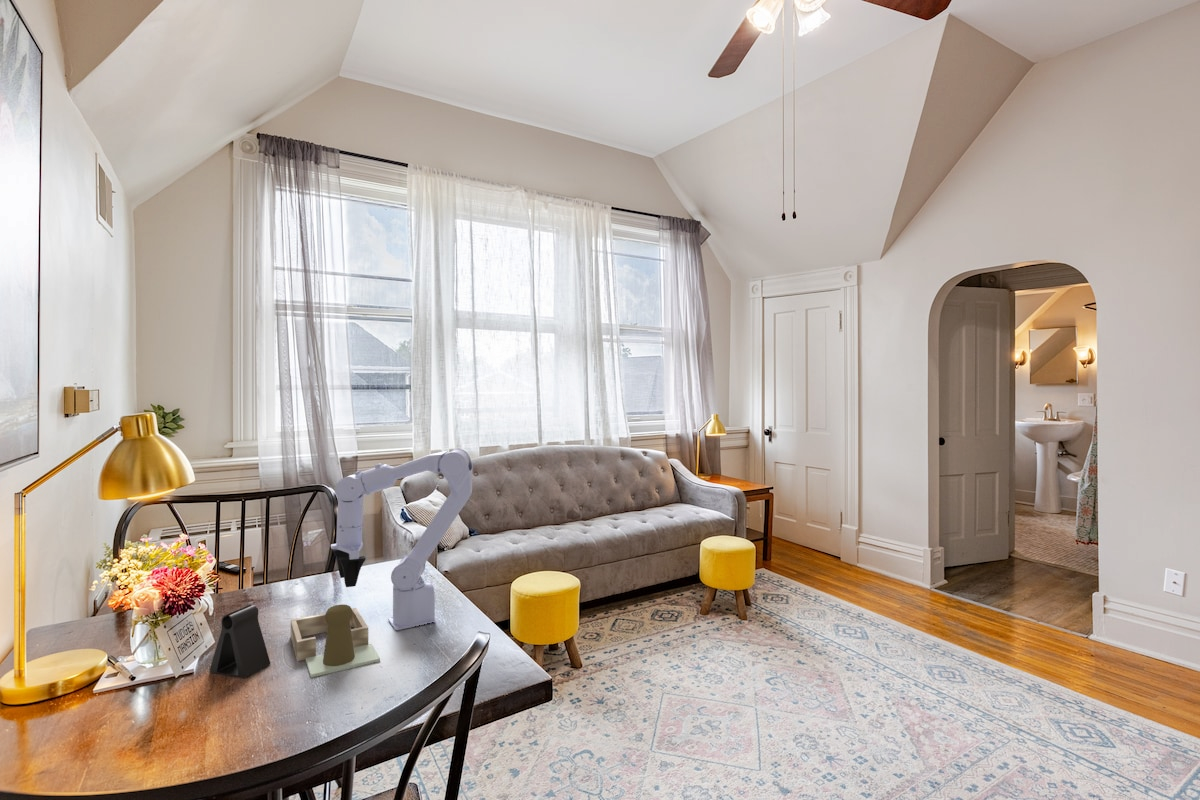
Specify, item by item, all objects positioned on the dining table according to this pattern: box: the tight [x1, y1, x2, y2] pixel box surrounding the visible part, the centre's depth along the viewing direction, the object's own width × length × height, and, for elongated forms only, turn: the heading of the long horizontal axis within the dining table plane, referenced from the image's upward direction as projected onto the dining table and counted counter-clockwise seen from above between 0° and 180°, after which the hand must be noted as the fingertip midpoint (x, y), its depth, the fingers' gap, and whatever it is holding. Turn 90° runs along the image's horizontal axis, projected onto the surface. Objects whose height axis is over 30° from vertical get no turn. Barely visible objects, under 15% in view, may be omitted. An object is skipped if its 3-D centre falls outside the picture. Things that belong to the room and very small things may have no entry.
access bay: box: [290, 607, 369, 662], centre depth 130 cm, size 14×14×4 cm
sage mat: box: [305, 643, 381, 678], centre depth 121 cm, size 13×8×1 cm, turn 123°
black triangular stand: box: [208, 604, 271, 680], centre depth 117 cm, size 9×6×12 cm, turn 75°
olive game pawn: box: [323, 604, 355, 666], centre depth 120 cm, size 6×6×11 cm
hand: (347, 581), depth 139 cm, fingers open, 7 cm apart
